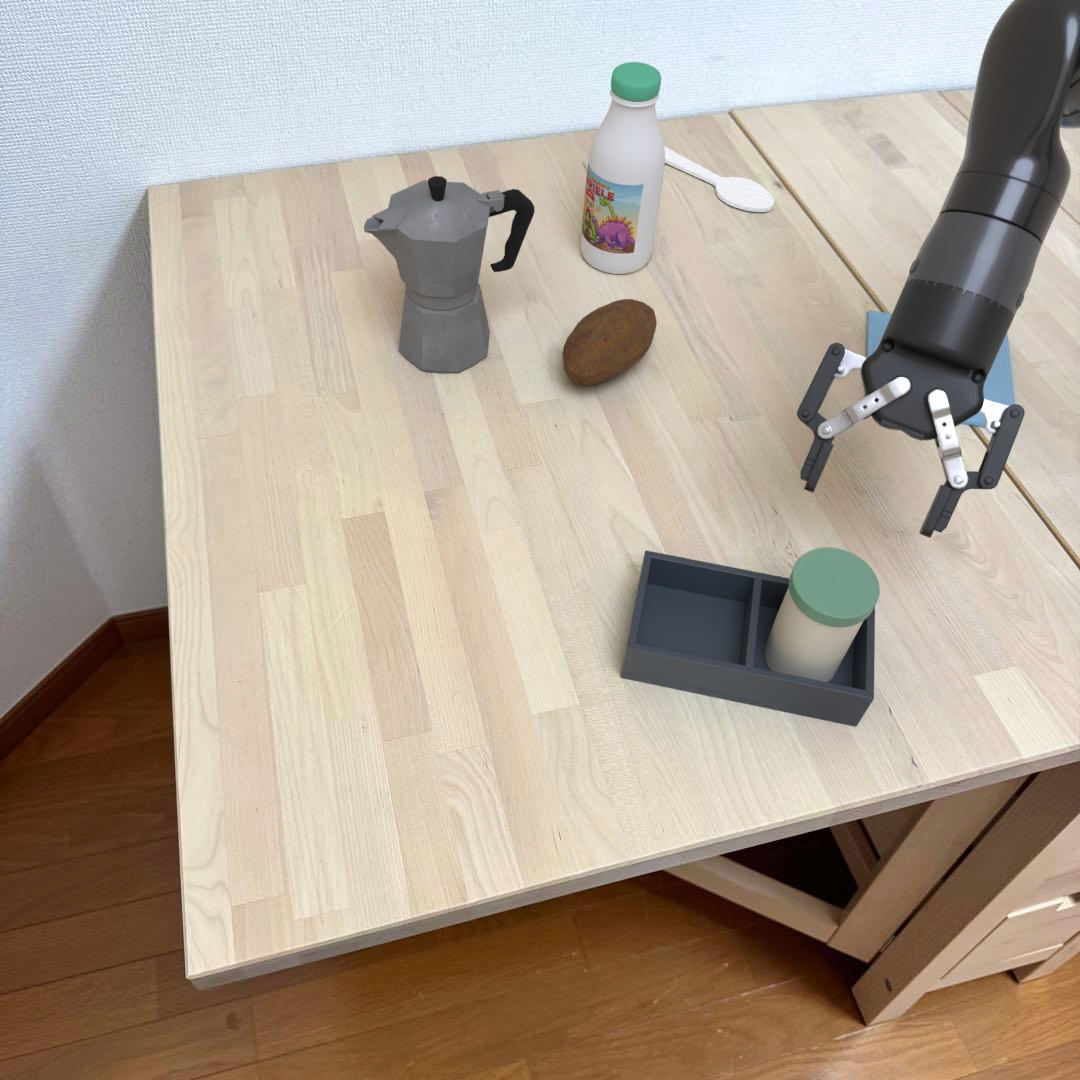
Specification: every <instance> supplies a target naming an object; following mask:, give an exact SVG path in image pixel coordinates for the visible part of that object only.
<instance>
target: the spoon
mask: <svg viewBox="0 0 1080 1080" xmlns="http://www.w3.org/2000/svg"><path fill="white" fill-rule="evenodd" d="M664 148H665V164H667V165H669V166H672V168H675V169H678V170H680V171H682V172H684V173H686V174H688V175H691V176H693V177H695V178H696V179H697V178H698V179H699V180H702V181H703V182H706V183H708V184H710V185H712V186H713V187H714V191H715V194H716V195H717V197H718V199H720V200H721V201H722V202H724V203H725V204H726V205H728V206H731V207H733V208H736V209H739V210H741V211H746V212H751V213H766V212H770V211H772V209H773V208H774V205H775V199H774V196H773V195H772V193H771V192H770V191H769V189H766V187H764V185H761V184H760V183H757V182H756V181H753V180H752V179H750V178H749V179H748V178H746V177H740V176H730V177H724V176H721V175H718V174H716V173H714V172H712V171H711V170H710V169H709V168H708V169H707V168H705V167H703V166H702V165H700V164H699V163H695V162H694V161H693V160H690V159H689V158H687V157H685V156H684V155H681V154H680V153H678V152H676V151H675V150H672V149H670V148H669V147H667V146H666V145H664Z"/></svg>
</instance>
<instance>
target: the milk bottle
mask: <svg viewBox="0 0 1080 1080" xmlns="http://www.w3.org/2000/svg"><path fill="white" fill-rule="evenodd" d="M661 84H662V75H661V72H660V71H659V70H658V69H657V68H656V67H654V66H653V65H650V64H648V63H644V62H639V61H629V62H624V63H621V64H619V65H617V66H616V67H614V69H613V70H612V73H611V79H610V90H609V95H610V98H611V102H610V104H609V108H608V111H607V113H606V115H605V117H604V119H603V120H602V122H601V123H600V124H599V126H598V128H597V130H596V132H595V134H594V137H593V138H592V142H591V145H590V149H589V153H588V162H587V169H586V178H585V179H586V180H585V190H584V200H583V201H584V202H583V213H582V222H581V223H582V224H581V235H580V252H581V254H582V256H583V259H584V260H585V262H586V263H587V264H588V265H589V266H591V267H593V268H594V269H596V270H598V271H601V272H603V273H607V274H615V275H623V274H630V273H634V272H637V271H639V270H641V269H642V268H644V267H645V266H646V265H647V264H648V262H649V261H650V259H651V258H652V253H653V248H654V244H655V242H654V241H655V238H656V237H655V235H656V230H657V222H658V215H659V209H660V204H661V203H660V202H661V196H662V188H663V183H664V182H663V181H664V173H665V164H666V163H665V148H664V146H665V142H664V138H663V134H662V131H661V128H660V124H659V121H658V117H657V110H656V103H657V102H658V100H659V98H660V92H661V91H660V90H661Z"/></svg>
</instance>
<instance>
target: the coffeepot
mask: <svg viewBox="0 0 1080 1080" xmlns="http://www.w3.org/2000/svg"><path fill="white" fill-rule="evenodd" d="M511 211H514V212H515V214H514V216H513V219H512V222H511V227H510V232H509V236H508V238H507V239H506V241H505V243H504V255H503V258H502V259H501V260H498V261H496V262H493V263H490V268H491V269H492V272H493V273H500V272H504V271H509V270H511V269H513V267H515V264H516V261H517V258H518V255H519V253H520V250H521V248H522V246H523V243H524V240H525V239H526V235H527V232H528V229H529V227H530V225H531V223H532V220H533V219H534V215H535V211H536V209H535V205H534V203H533V201H532V200H531V199H530V198H529V197H528V196H527V195H525V194H524V193H523V192H522V191H521V190H520V189H517V188H511V189H508V190H504V191H500V190H499V189H497V190H492V191H491V190H490V191H485V192H482V193H479V192H478V191H477V190H475V189H474V188H473V187H471V186H469V185H468V184H467V183H465V182H459V181H448V179H447V178H445V177H444V176H441V175H440V176H439V175H433V176H432V177H429V178H428V180H421V181H419V182H417V183H415V184H412V185H410V186H408V187H406V188H404V189H402V190H399V191H397V192H395V193H392V194H391V195H390V198H389V202H388V207H387V208H384V209H383V210H381V211H378V212H377V213H375V214H373V215H372V216H371V217H369V218H367V219H366V221H365V223H364V225H363V231H364V233H365V234H366V233H367V234H371V235H372V236H373V237H374V238H376V239H377V240H378V241H379V242H380V243H381V244H382V246H383V247H384V248H385V249H386V250H387V251H388V252H389V253H390V255H391V256H392V257H393V258H394V259H395V262H396V267H397V269H398V273H399V274H398V275H399V278H400V280H401V281H402V282H403V283H404V284H405V291H404V297H403V308H402V315H401V324H400V334H399V343H398V352H399V353H400V354H401V355H402V356H403V357H404V358H405V359H406V360H407V361H408V362H409V364H412V365H413V366H415V367H416V368H418V369H420V370H421V371H425V372H429V373H433V374H454V373H460V372H463V371H466V370H468V369H470V368H473V367H475V366H476V365H477V364H478V363H480V362H481V361H482V360H483V359H485V358H486V357H487V356H488V352H489V351H488V350H489V341H490V334H491V333H490V332H491V331H490V330H491V329H490V326H489V321H488V316H487V312H486V307H485V302H484V298H483V293H482V287H481V284H480V282H479V281H480V274H481V270H482V269H481V267H482V262H483V257H484V256H483V255H484V250H485V249H484V248H485V242H486V237H487V229H488V225H489V219H490V218H491V217H495V216H498V215H502V214H504V213H508V212H511Z"/></svg>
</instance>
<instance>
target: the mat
mask: <svg viewBox="0 0 1080 1080" xmlns="http://www.w3.org/2000/svg"><path fill="white" fill-rule="evenodd" d="M891 315H892V313H890V312H884V311H883V312H882V311H877V310H872V309H869V310H868V311H867V319H866V320H867V321H866V323H867V325H866V358H868V357H869V356H870V355H872V354H873V353H874V352H875V350H876V349H877V348H878V346H879V343H880V341H881V339H882V336H883V334H884V332H885V329H886V327H887V325H888V322H889V320H890V318H891ZM1011 362H1012V361H1011V353H1010V344H1009V333H1008V332H1007V334H1006V336H1005V338H1004V341H1003V343H1002V345H1001V347H1000V350H999V352H998V354H997V356H996V359H995V361H994V363H993V365H992V367H991V370H990V372H989V374H988V376H987V379H986V381H985V384H984V389H983V393H984V399H987V400H991V401H994V402H998V403H1001V404H1005V405H1008V406H1010V405H1013V404H1016V399H1015V397H1016V396H1015V389H1014V379H1013V370H1012V363H1011ZM961 424H964V425H967V426H968V425H969V426H975V427H978V428H979V427H980V428H985V426H984V425H985V418H984V416H983V415H982V414H981V413H979V412H978V413H977V414H976V415H974V416H973V417H971V418H969V419H968V420H966V421H964V422H963V423H961Z"/></svg>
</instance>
